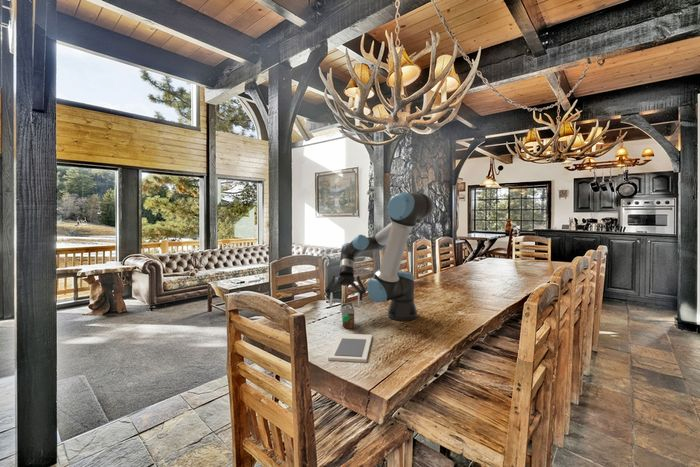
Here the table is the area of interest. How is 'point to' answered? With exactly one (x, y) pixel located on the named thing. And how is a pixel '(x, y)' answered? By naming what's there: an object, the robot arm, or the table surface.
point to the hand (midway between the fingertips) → (344, 305)
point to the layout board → (351, 348)
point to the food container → (347, 315)
